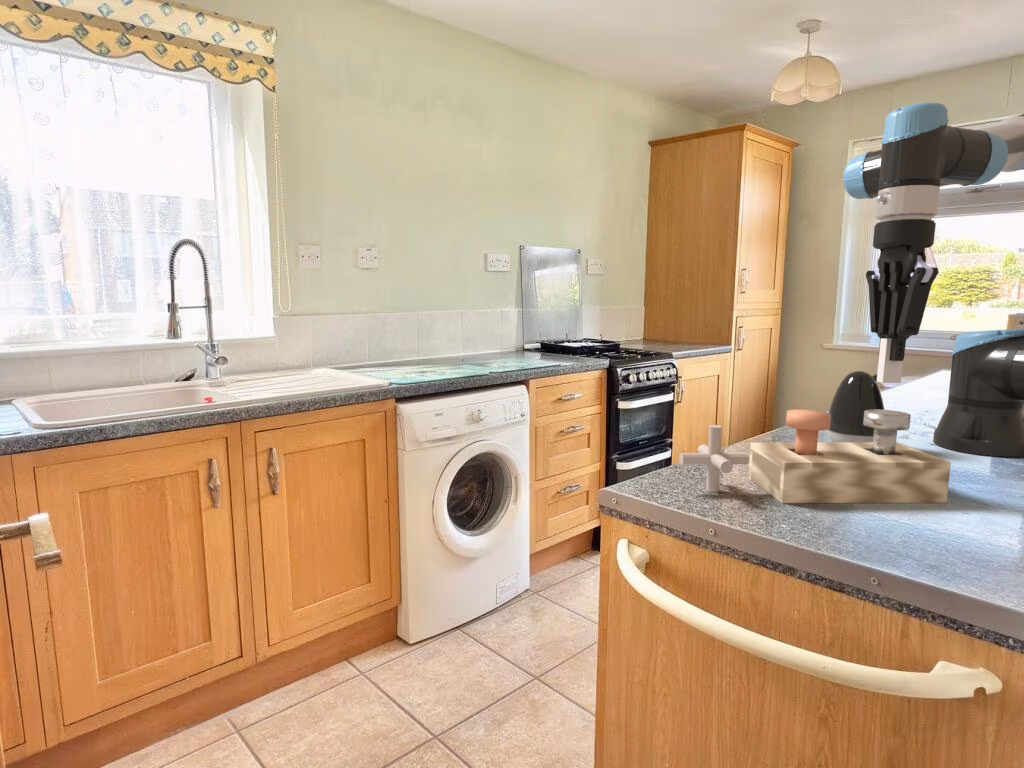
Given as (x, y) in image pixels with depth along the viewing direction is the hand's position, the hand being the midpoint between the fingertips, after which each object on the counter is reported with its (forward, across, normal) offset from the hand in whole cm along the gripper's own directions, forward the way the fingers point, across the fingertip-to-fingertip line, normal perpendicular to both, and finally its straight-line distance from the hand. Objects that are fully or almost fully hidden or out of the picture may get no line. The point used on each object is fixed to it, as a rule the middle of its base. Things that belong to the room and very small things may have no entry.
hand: (888, 382), depth 92 cm
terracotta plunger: (+12, 0, -12) cm, 17 cm away
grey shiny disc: (+12, 0, 0) cm, 12 cm away
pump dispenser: (+17, -26, +12) cm, 33 cm away
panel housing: (+17, 0, -6) cm, 18 cm away
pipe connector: (+17, 0, -26) cm, 31 cm away
